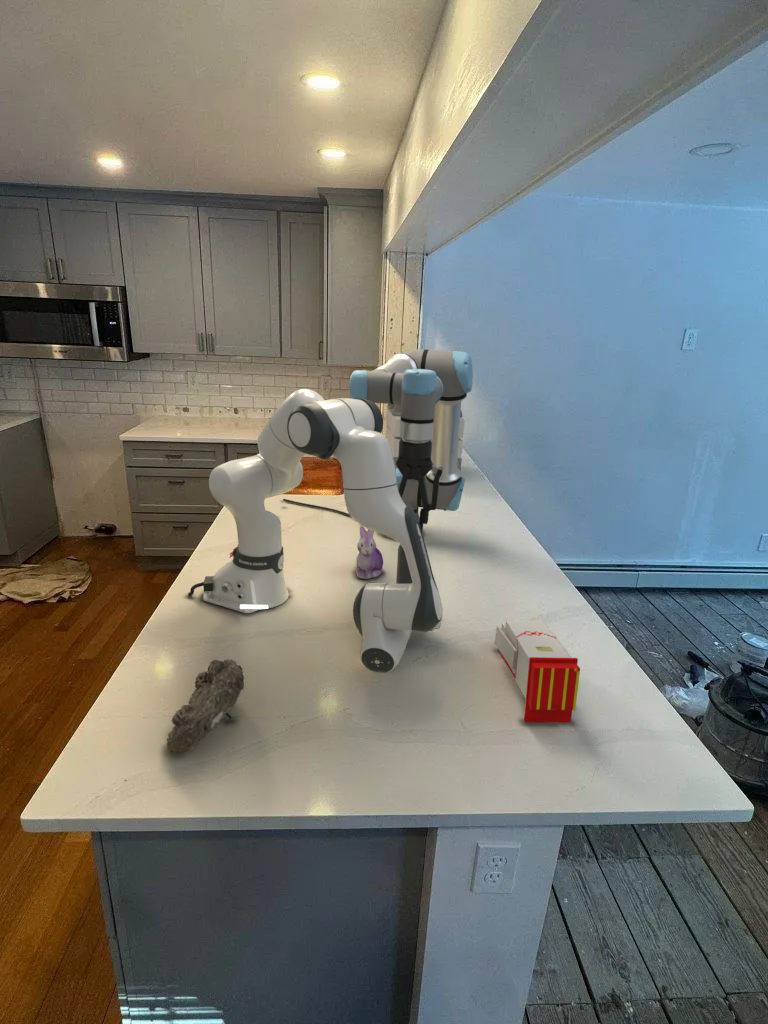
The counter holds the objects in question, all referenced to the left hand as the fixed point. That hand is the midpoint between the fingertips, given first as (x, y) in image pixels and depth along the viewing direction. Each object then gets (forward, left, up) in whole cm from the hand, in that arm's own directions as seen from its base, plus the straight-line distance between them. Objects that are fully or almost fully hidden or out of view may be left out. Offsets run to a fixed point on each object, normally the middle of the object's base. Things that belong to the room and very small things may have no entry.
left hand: (406, 596), depth 143 cm
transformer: (-21, +136, -7) cm, 138 cm away
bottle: (0, -1, -7) cm, 7 cm away
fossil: (-28, -47, -7) cm, 55 cm away
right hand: (0, -1, +17) cm, 17 cm away
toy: (+31, -17, -7) cm, 36 cm away
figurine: (-16, +22, -7) cm, 28 cm away
